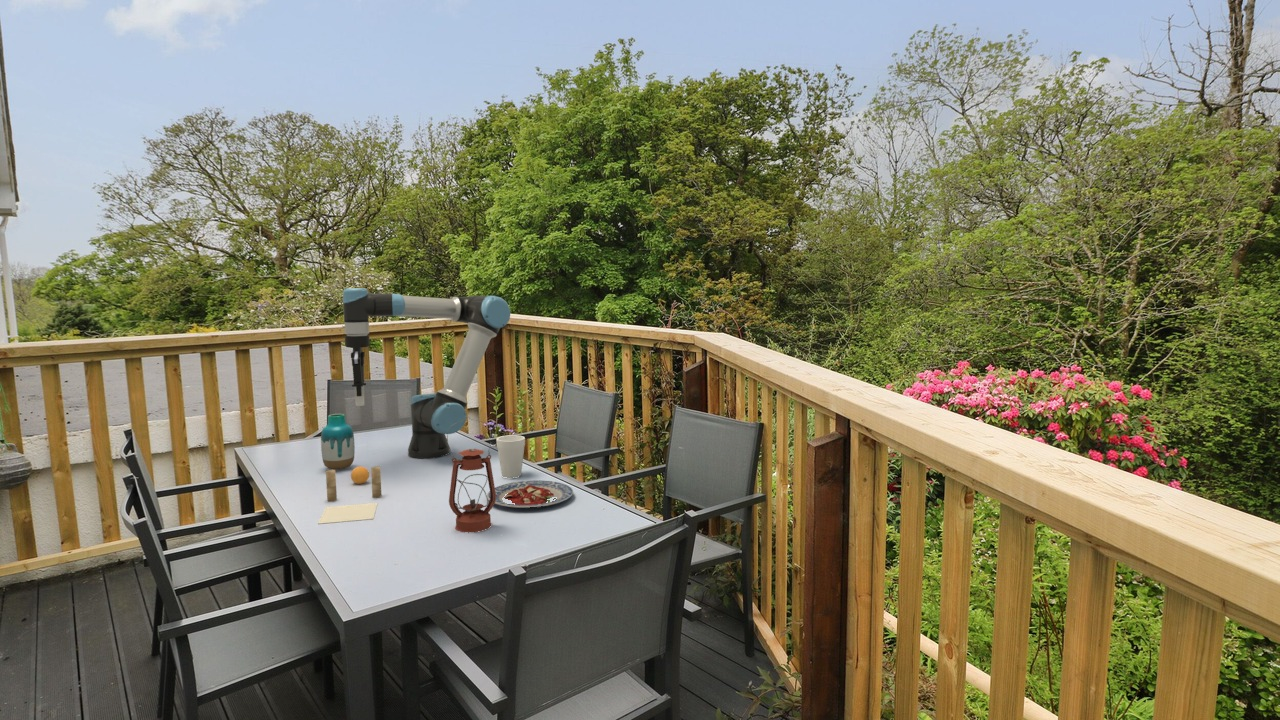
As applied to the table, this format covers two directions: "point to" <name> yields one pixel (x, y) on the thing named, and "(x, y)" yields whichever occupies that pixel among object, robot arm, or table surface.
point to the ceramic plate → (531, 493)
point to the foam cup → (511, 454)
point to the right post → (376, 482)
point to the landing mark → (348, 513)
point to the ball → (360, 475)
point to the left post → (331, 485)
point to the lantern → (473, 515)
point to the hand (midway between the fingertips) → (360, 405)
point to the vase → (337, 443)
